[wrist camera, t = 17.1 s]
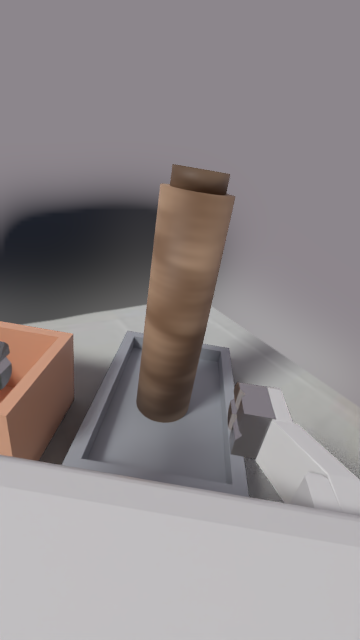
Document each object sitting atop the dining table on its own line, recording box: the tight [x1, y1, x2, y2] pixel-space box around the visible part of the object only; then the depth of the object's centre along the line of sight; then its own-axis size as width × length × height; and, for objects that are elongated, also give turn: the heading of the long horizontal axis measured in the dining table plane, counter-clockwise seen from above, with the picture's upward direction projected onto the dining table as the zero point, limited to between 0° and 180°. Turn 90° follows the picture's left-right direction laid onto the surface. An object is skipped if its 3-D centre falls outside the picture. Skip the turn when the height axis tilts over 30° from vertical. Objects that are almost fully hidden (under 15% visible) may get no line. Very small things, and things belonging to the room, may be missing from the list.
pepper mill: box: [136, 164, 235, 423], centre depth 23 cm, size 5×5×19 cm
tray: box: [62, 331, 249, 497], centre depth 27 cm, size 12×18×2 cm, turn 176°
